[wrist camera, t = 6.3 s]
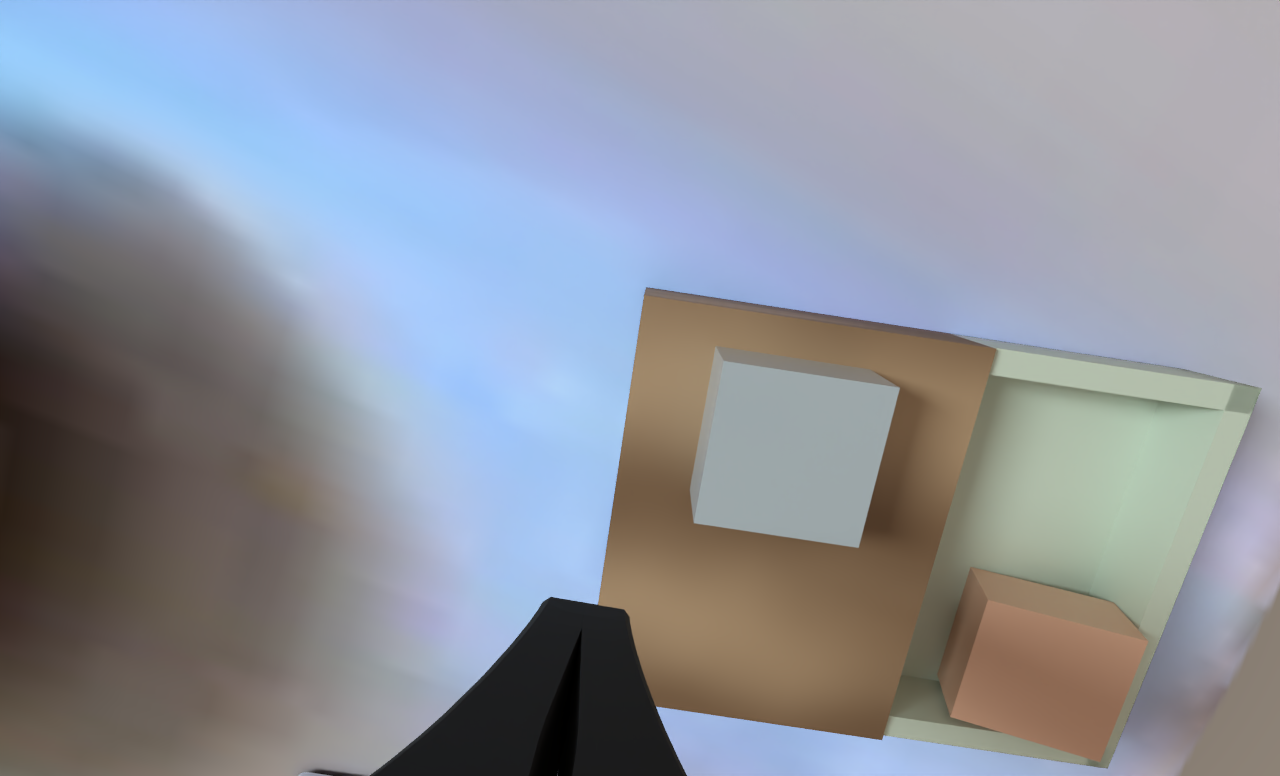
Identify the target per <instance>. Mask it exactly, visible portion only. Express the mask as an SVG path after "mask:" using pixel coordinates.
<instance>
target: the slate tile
mask: <svg viewBox="0 0 1280 776" xmlns="http://www.w3.org/2000/svg"><path fill="white" fill-rule="evenodd" d="M899 390H900V387H898V386H896V385H895V384H893V383H891V382H890V381H888V380H887V379H885V378H883V377H882V376H880V375H878V374H877V373H875V372H874V371H872V370H870V369H865V368H858V367H851V366H845V365H838V364H832V363H825V362H818V361H812V360H805V359H799V358H792V357H786V356H779V355H772V354H766V353H759V352H753V351H746V350H739V349H733V348H726V347H720V346H716V347H715V352H714V358H713V364H712V369H711V375H710V380H709V386H708V391H707V397H706V402H705V408H704V413H703V419H702V425H701V430H700V436H699V441H698V447H697V452H696V458H695V463H694V469H693V474H692V480H691V485H690V496H691V504H692V513H693V521H694V523H696V524H703V525H710V526H716V527H723V528H730V529H736V530H743V531H750V532H756V533H763V534H770V535H776V536H783V537H789V538H796V539H803V540H809V541H816V542H823V543H829V544H836V545H843V546H849V547H856V548H859V544H860V541H861V537H862V533H863V529H864V525H865V521H866V517H867V513H868V510H869V506H870V502H871V498H872V494H873V490H874V486H875V482H876V479H877V475H878V471H879V467H880V463H881V459H882V455H883V452H884V448H885V444H886V440H887V436H888V432H889V428H890V424H891V421H892V417H893V413H894V409H895V405H896V401H897V397H898V394H899Z"/></svg>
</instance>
